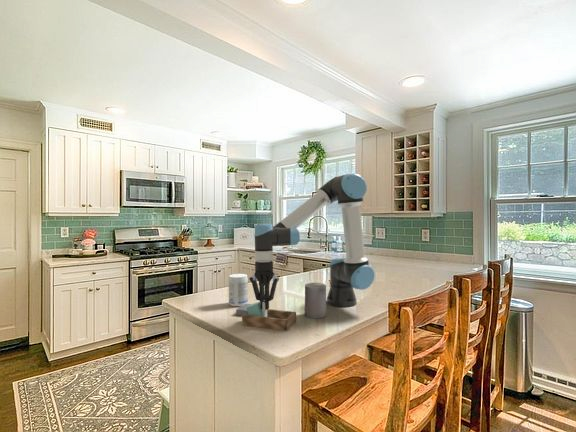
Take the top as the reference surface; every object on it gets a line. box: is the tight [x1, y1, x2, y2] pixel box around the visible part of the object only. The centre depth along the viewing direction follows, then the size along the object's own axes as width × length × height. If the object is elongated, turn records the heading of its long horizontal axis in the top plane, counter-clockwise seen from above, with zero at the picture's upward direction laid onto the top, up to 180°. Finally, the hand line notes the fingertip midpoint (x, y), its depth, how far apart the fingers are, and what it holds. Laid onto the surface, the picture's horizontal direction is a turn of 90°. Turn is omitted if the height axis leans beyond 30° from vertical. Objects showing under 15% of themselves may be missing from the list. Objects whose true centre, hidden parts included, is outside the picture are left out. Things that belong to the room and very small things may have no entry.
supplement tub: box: [228, 273, 249, 308], centre depth 158 cm, size 10×10×15 cm
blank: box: [247, 301, 268, 317], centre depth 133 cm, size 5×6×7 cm
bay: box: [241, 308, 297, 332], centre depth 131 cm, size 20×11×4 cm, turn 72°
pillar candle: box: [304, 281, 327, 319], centre depth 142 cm, size 10×10×15 cm
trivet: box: [235, 303, 252, 317], centre depth 145 cm, size 10×10×2 cm
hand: (264, 317), depth 131 cm, fingers closed
